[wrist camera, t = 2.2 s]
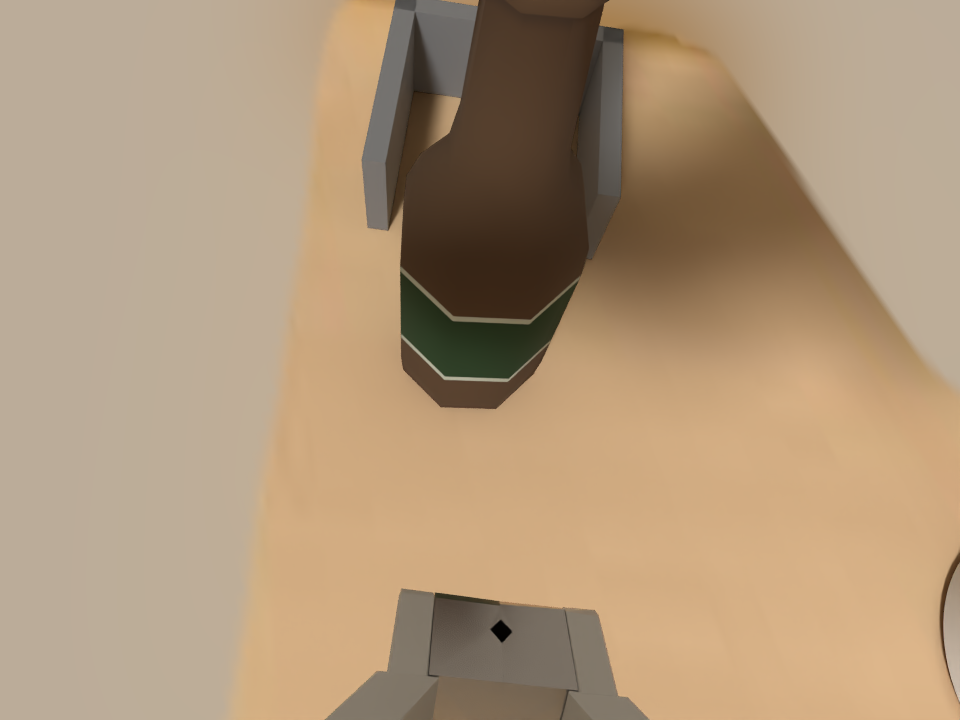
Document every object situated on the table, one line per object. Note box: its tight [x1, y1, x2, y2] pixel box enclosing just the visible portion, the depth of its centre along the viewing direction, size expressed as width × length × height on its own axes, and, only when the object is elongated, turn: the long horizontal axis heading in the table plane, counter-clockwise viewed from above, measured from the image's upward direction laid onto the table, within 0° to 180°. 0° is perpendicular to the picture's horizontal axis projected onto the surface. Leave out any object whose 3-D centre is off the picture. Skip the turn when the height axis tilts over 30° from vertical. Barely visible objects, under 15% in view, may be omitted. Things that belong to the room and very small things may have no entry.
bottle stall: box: [362, 0, 624, 259], centre depth 40 cm, size 13×12×6 cm
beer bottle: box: [400, 0, 609, 409], centre depth 27 cm, size 8×8×24 cm
